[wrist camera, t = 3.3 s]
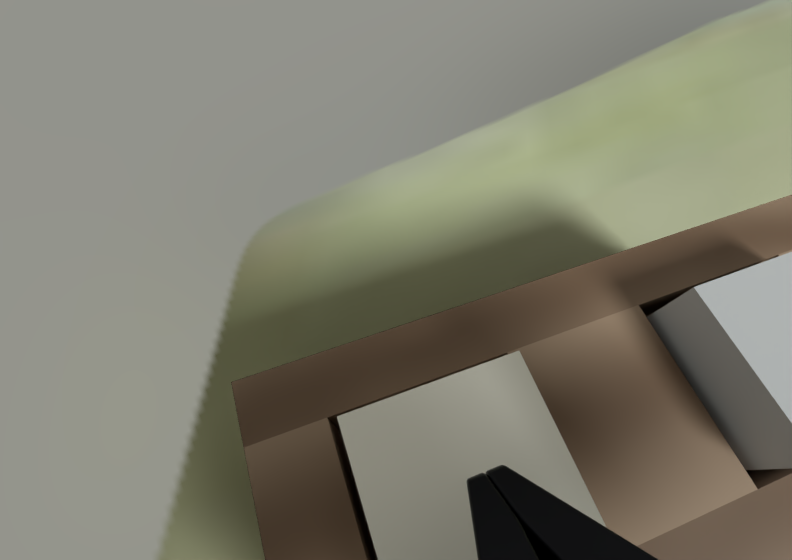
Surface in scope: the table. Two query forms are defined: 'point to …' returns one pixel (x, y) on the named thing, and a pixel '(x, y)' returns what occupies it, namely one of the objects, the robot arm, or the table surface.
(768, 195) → the table surface
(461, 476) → the cream button
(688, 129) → the table surface
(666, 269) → the brown rectangular box
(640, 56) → the table surface
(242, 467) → the table surface
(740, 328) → the grey button
